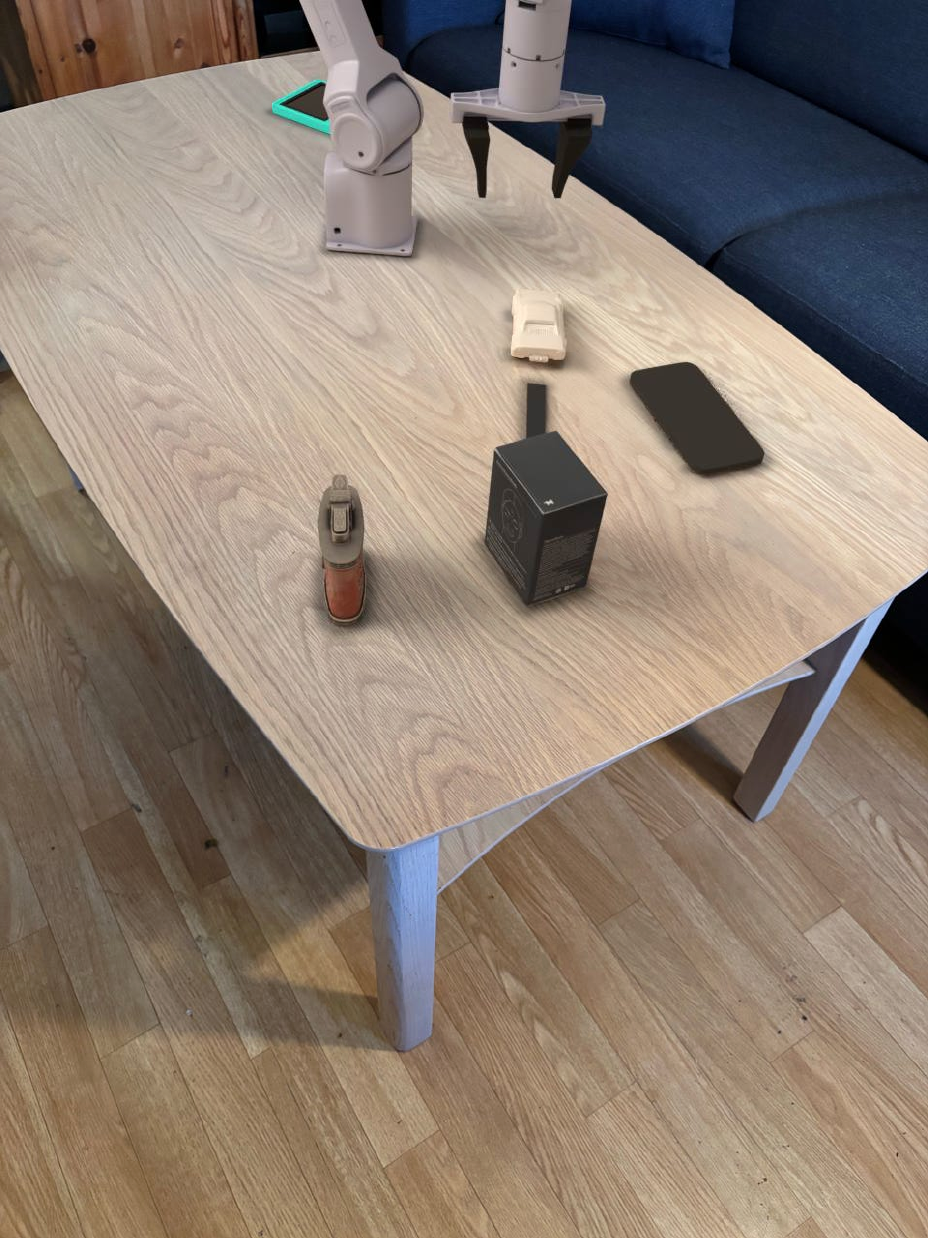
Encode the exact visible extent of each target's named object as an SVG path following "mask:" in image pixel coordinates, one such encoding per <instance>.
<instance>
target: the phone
mask: <svg viewBox="0 0 928 1238" xmlns="http://www.w3.org/2000/svg"><path fill="white" fill-rule="evenodd" d="M629 383H630V385H631V387H632V388H633V390H634V391H635V392H636V394H637V395H638V396H639V398H640V400H641V401H642V402H643V404H644V405H645V406H646V408H647V409H648V411H649V412H650V414H651V415H652V416H653V419H655V421H656V423H658V425H659V427H661V429H662V431H663V432H664V433H665V435H666V436H667V438H668V439H669V440H670V442H671V443H672V445H673V446H674V447H675V449H676V450H677V451H678V453H679V455H681V457H682V458H683V461H685V463H686V464H687V466H688V467H689V468H690V469H691V470H692V471H693V472H694V473H696V474H697V475H701V476H709V475H710V476H711V475H716V474H719V473H724V472H728V471H734V470H738V469H742V468H747V467H752V466H756V465H757V466H758V465H759V464H761V463H762V462H763V460H764V457H765V455H766V454H765V450H764V449H763V447H762V445H761V444H760V443H759V442H758V441H757V440H756V438H755V437H754V435H753V434H752V433H751V432H750V431H749V429H748V428H747V427H746V426H745V424H744V423H743V422H742V420H741V419H740V418H739V417H738V415H737V414H736V413H735V411H733V409H732V408H731V407H730V405H729V404H728V403H727V401H726V400H725V399H724V398H723V397H722V395H721V394H720V393H719V391H718V390H717V389H716V388H715V387H714V385H713V384H712V382H711V381H710V380H709V379H708V377H707V376H706V375H705V373H703V371H702V370H701V369H700V367H698V366H697V365H696V364H695V363H693V362H690V361H681V362H675V363H669V364H668V363H667V364H663V365H658V366H652V367H646V368H641V369H636V370H633V371H632V373H631V374H630V378H629Z"/></svg>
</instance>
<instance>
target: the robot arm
mask: <svg viewBox="0 0 928 1238" xmlns="http://www.w3.org/2000/svg"><path fill="white" fill-rule="evenodd" d="M299 3H300V5H301V8H302V10H303V12H304V15H305V17H306V20H307V22H308V24H309V27H310V29H311V32H312V34H313V36H314V39H315V42H316V44H317V46H318V48H319V51H320V53H321V56H322V58H323V61H324V63H325V66H326V67H327V79H326V82H327V83H326V88H325V92H324V97H323V104H324V107H325V109H326V112H327V114H328V117H329V122H330V134H329V136H330V141H331V144H332V148H333V149H334V151H329V152H327V153H326V156H325V161H324V167H323V199H324V216H325V219H324V220H325V229H326V230H325V234H326V243H325V248H326V249H327V250H328V251H338V252H352V253H362V254H373V255H374V254H376V255H387V256H398V257H399V256H402V257H410V256H412V255H413V251H414V246H415V245H414V244H415V239H416V238H415V237H416V232H417V226H418V216H416V215H412V211H413V208H412V204H413V201H412V200H413V137H414V136H415V135H416V134H417V133H418V132H419V130H421V127H422V125H423V122H424V117H425V109H424V104H423V99H422V97H421V95H420V93H419V91H418V90H417V89H416V87H415V86H414V85H413V83H412V82H411V81H410V80H409V79H408V77H406V75H405V72H404V71H403V69H402V66H401V64H400V61H399V59H398V58H397V57H395V56H394V55H392V54H391V53H389V51H387V50H385V49H383V48H382V47H380V45H379V43H378V41H377V38H376V36H375V33H374V30H373V28H372V25H371V22H370V20H369V17H368V15H367V12H366V9H365V7H364V4H363V1H362V0H299ZM571 8H572V0H505V9H504V20H503V35H502V46H501V47H502V48H501V58H500V59H501V60H500V72H499V73H500V74H499V85H498V87H495V88H487V89H482V90H474V91H468V92H467V91H466V92H451V93H450V108H449V109H450V112H449V114H450V120H451V123H452V124H461V125H462V131H463V135H464V138H465V141H466V144H467V146H468V149H469V152H470V154H471V157H472V161H473V164H474V167H475V173H476V175H475V176H476V191H477V195H478V198H479V199H486V198H487V191H488V160H489V152H490V148H491V147H490V144H491V135H490V125H489V122H488V121H504V122H505V121H506V122H524V123H541V122H558V132H557V135H558V136H557V144H556V145H557V146H556V155H555V161H554V166H553V171H552V177H551V191H552V195H553V198H554V199H562V196H563V192H564V189H565V188H566V187H565V186H566V184H567V182H568V179H569V177H570V175H571V173H572V171H573V169H574V167H575V165H576V164H577V162H578V161H579V159H580V157H581V156H582V154H583V153H584V152H585V151H586V149H587V148H588V146H589V145H590V144H591V141H592V138H593V129H592V127H591V126H603V125H604V118H605V112H606V106H607V105H606V102H605V99H604V97H603V95H595V94H594V95H593V94H585V93H578V92H573V91H567V90H561V88H562V87H561V86H562V79H563V72H564V62H565V55H566V49H567V48H566V47H567V40H568V33H569V26H570V25H569V24H570V17H571V16H570V15H571Z"/></svg>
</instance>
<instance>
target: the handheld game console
mask: <svg viewBox="0 0 928 1238" xmlns="http://www.w3.org/2000/svg"><path fill="white" fill-rule="evenodd" d="M326 83H327V80H323V79H319V78H317V79H315V80H313V81H310V82H309V83H307V84H305V85H303V86H301V87H299V88H298V89H297V88H296V90H293V91H292V92H289V93H287V94H286V95H284V96H282V97H280V98H278V99H276V100H275V101H273V102H272V103H271V108H272V109H271V111H272V113H273V114H275V115H278V116H280V117H283V118H285V119H288V120H290V121H294V122H296V123H299V124H301V125H304V126H307V127H310V128H312V129H314V130H318V131H320V132H323V133H325V134H328V135H330V122H329V117H328V114H327V112H326V109H325V107H324V104H323V97H324V92H325V88H326Z"/></svg>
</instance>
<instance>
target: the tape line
mask: <svg viewBox="0 0 928 1238" xmlns="http://www.w3.org/2000/svg"><path fill="white" fill-rule="evenodd" d="M546 416H547V385H546V384H545V383H544V384H543V383H531V382H527V384H526V417H525V418H526V419H525V420H526V422H525V423H526V424H525V425H526V426H525V427H526V429H525V439H527V438H530V437H534V436H538V435H541V434H545V433H547V432H546V431H547V417H546Z"/></svg>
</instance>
